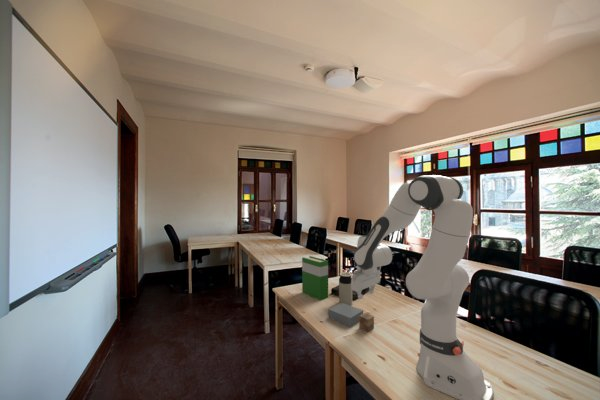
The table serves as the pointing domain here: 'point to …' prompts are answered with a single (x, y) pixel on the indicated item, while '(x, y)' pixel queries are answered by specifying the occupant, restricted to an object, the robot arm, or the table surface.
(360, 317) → the walnut block
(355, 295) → the diary
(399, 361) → the table surface
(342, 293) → the travel mug
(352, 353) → the table surface
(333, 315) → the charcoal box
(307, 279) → the green cereal box
